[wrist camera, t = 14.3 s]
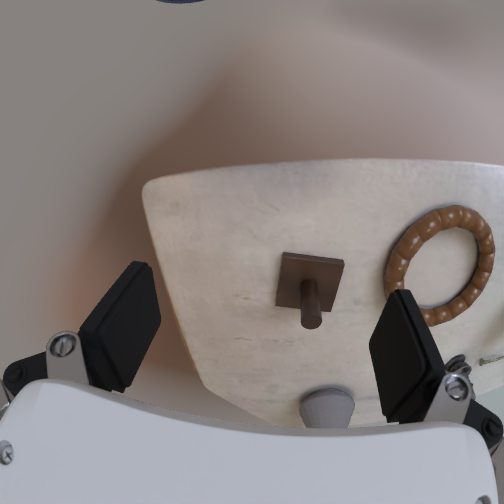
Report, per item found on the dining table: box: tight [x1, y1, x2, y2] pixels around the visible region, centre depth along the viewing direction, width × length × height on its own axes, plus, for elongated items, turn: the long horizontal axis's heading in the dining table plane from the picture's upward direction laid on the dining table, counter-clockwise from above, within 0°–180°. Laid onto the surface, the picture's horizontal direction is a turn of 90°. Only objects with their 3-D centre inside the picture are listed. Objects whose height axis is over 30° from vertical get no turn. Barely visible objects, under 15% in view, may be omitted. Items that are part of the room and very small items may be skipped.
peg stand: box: [275, 252, 345, 329], centre depth 33 cm, size 8×8×8 cm
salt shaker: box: [445, 355, 476, 400], centre depth 37 cm, size 6×6×12 cm
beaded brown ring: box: [384, 205, 495, 326], centre depth 32 cm, size 20×20×3 cm
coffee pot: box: [299, 389, 355, 428], centre depth 43 cm, size 21×12×15 cm, turn 94°
